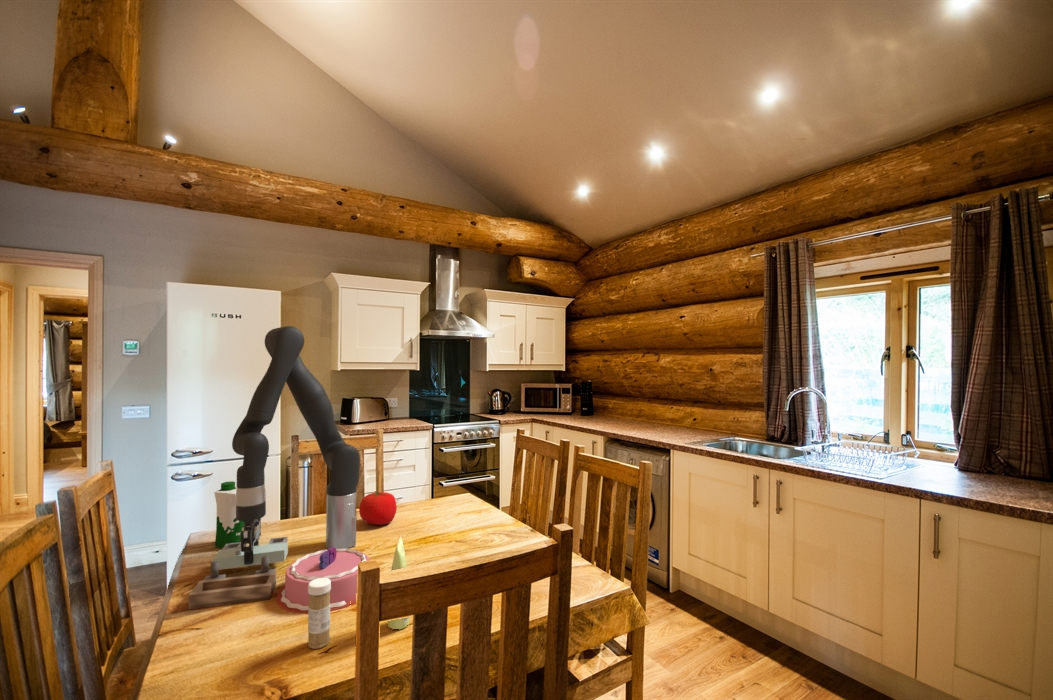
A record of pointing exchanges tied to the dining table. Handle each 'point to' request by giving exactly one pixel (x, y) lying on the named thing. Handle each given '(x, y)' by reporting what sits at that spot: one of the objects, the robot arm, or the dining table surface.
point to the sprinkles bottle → (319, 613)
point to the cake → (322, 565)
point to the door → (235, 558)
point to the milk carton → (227, 516)
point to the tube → (397, 563)
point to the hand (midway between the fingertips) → (251, 558)
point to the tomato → (378, 508)
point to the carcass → (233, 587)
